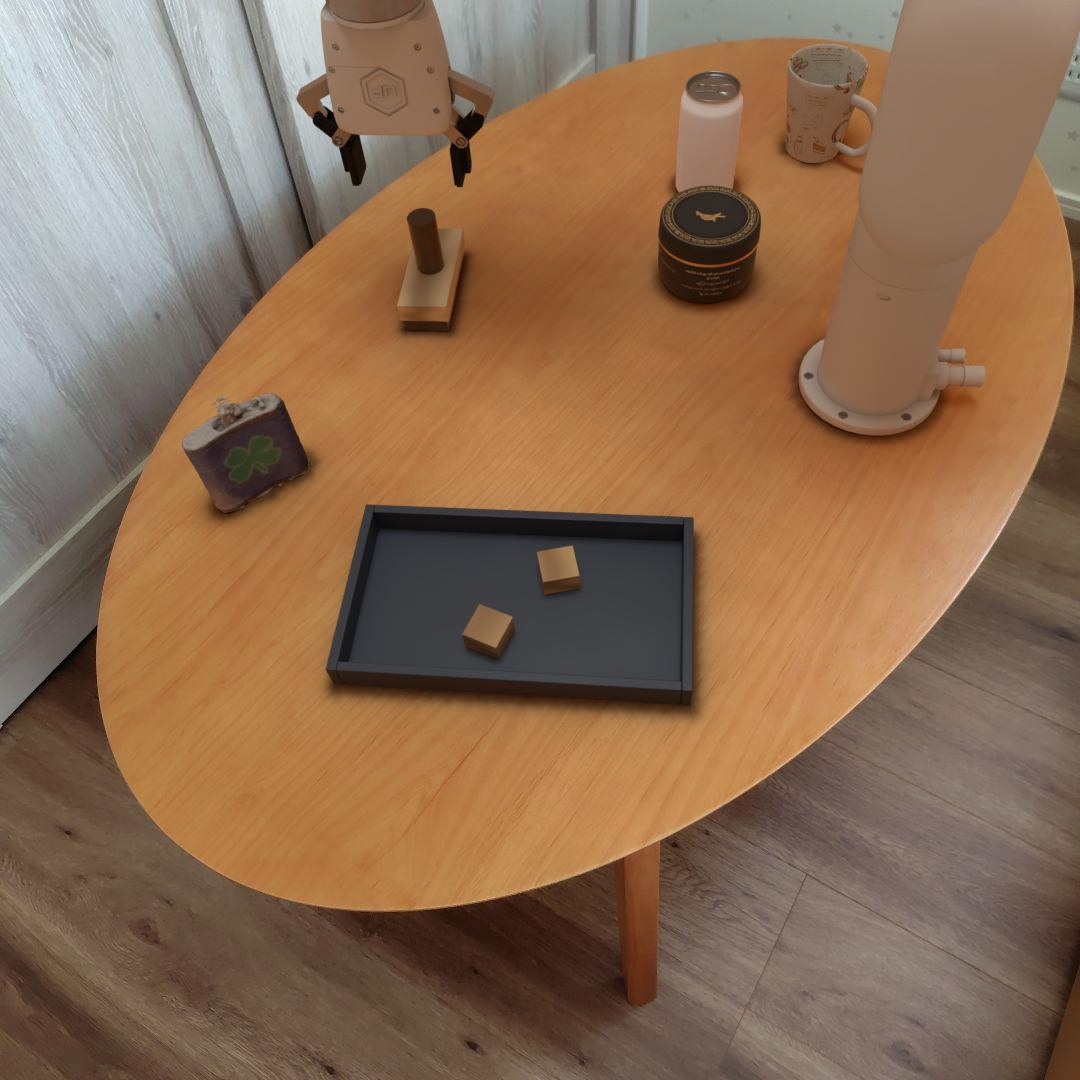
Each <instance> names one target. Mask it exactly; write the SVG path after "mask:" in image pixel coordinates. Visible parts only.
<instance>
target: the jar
mask: <svg viewBox="0 0 1080 1080" xmlns="http://www.w3.org/2000/svg"><path fill="white" fill-rule="evenodd" d="M761 215H762V214H761V212H760V209H759V207H758V205H757V204H756V202H754V200H752V198H751V197H749V196H748V195H746V194H744V193H743V192H741V191H739V190H736V189H733V188H732V189H731V188H727V187H722V186H698V187H693V188H690V189H686V190H684V191H681V192H677V193H676V194H674V195H672V196H671V198H669V199H668V200H667V201H666V203H665V204H664V205H663V207H662V209H661V211H660V215H659V222H658V228H657V229H658V230H657V237H658V251H657V266H658V272H659V275H660V279H661V281H662V283H663V285H664V286H665V288H666V289H667V290H668V291H669V292H670V293H671V294H673V295H674V296H676V297H677V298H679V299H681V300H683V301H686V302H689V303H694V304H698V305H712V304H718V303H722V302H725V301H728V300H731V299H733V297H736V295H738V294H740V292H742V291H743V290H744V289H745V287H746V286H747V284H748V282H749V280H750V279H751V276H752V274H753V273H754V269H755V265H756V264H755V263H756V257H757V251H758V245H759V243H760V238H761V227H762V216H761Z"/></svg>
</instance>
